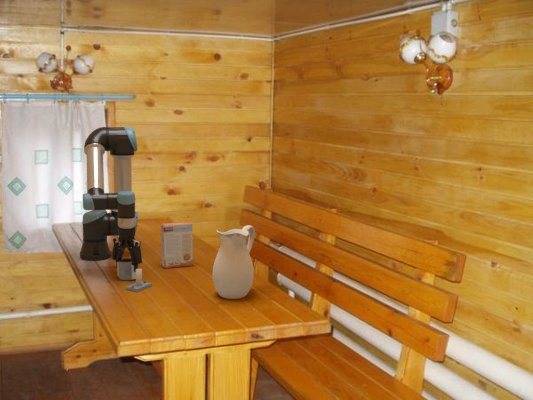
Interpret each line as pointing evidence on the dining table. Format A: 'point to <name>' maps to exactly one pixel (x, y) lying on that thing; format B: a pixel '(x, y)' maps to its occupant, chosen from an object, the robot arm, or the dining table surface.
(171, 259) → the cracker box
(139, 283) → the shaft stand
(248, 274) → the pitcher
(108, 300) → the dining table surface
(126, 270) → the tube
